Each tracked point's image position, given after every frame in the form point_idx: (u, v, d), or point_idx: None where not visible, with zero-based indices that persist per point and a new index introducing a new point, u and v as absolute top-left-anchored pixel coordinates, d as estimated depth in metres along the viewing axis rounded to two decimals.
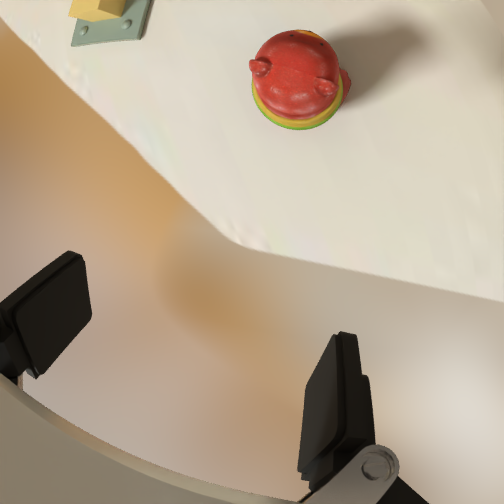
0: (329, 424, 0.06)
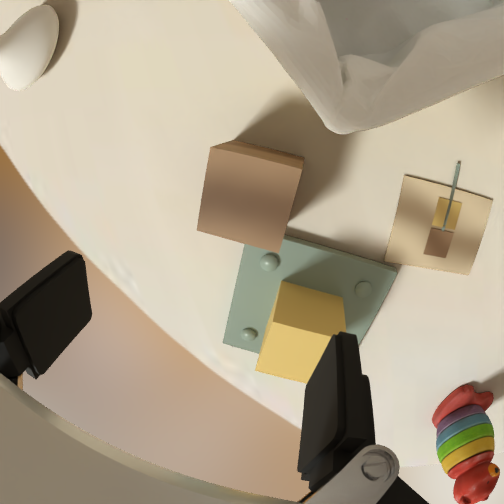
0: (329, 424, 0.06)
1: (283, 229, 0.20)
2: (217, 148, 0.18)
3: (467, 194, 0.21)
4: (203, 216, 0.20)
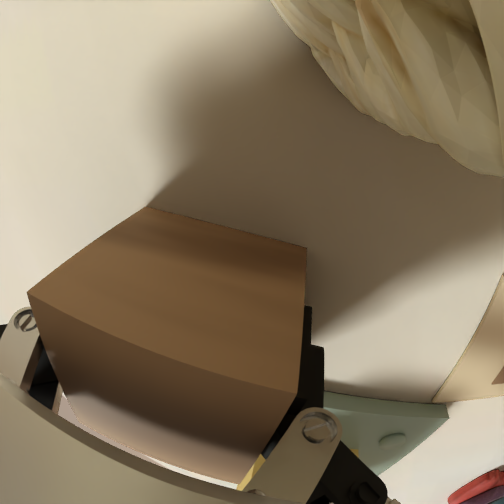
0: None
1: (245, 468, 0.07)
2: (42, 295, 0.05)
3: None
4: (78, 411, 0.07)
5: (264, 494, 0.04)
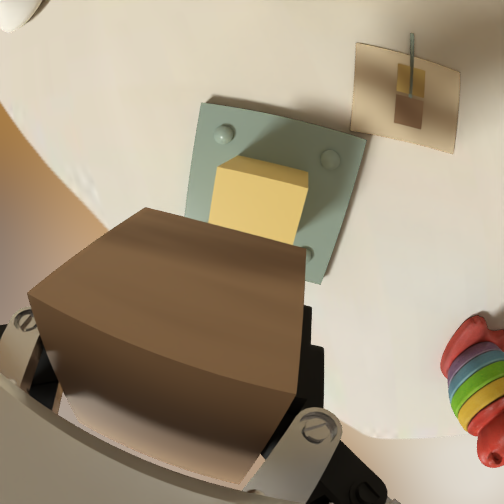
0: None
1: (244, 468, 0.07)
2: (42, 296, 0.05)
3: (430, 64, 0.18)
4: (78, 411, 0.07)
5: (264, 494, 0.04)
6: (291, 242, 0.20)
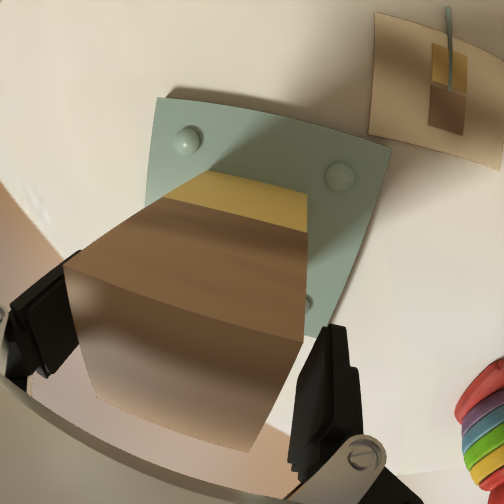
0: (316, 413, 0.06)
1: (254, 431, 0.08)
2: (78, 267, 0.06)
3: (472, 49, 0.11)
4: (97, 384, 0.08)
5: None
6: None
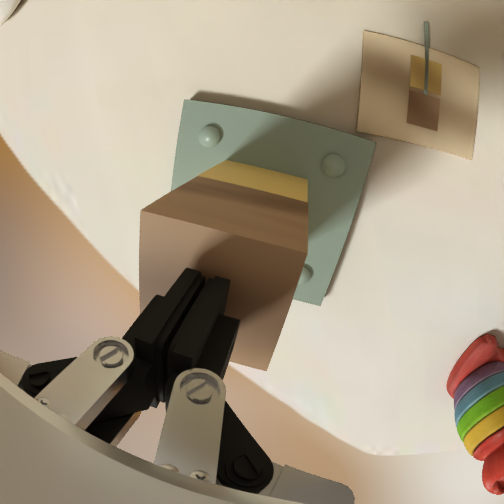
0: None
1: (273, 343, 0.12)
2: (152, 211, 0.10)
3: (446, 57, 0.15)
4: None
5: (174, 466, 0.04)
6: None
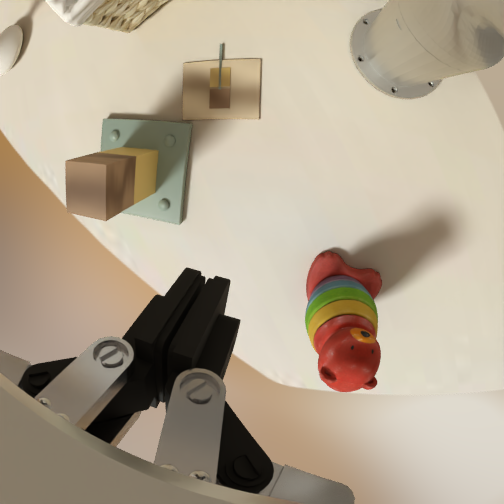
0: None
1: (104, 204, 0.27)
2: (69, 161, 0.26)
3: (235, 61, 0.31)
4: (68, 203, 0.28)
5: (174, 466, 0.04)
6: None
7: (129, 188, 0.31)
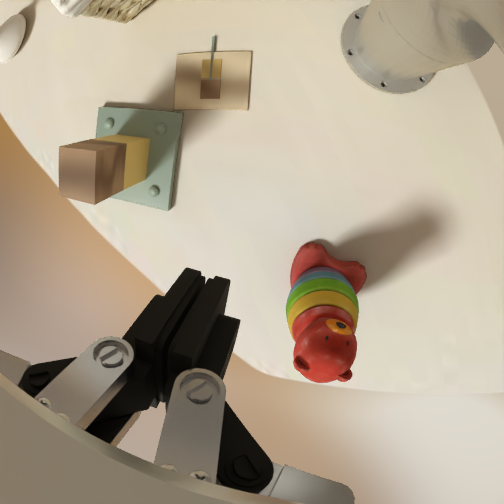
0: None
1: (93, 189, 0.28)
2: (62, 146, 0.27)
3: (227, 53, 0.31)
4: (60, 186, 0.29)
5: (174, 466, 0.04)
6: None
7: (118, 174, 0.32)
